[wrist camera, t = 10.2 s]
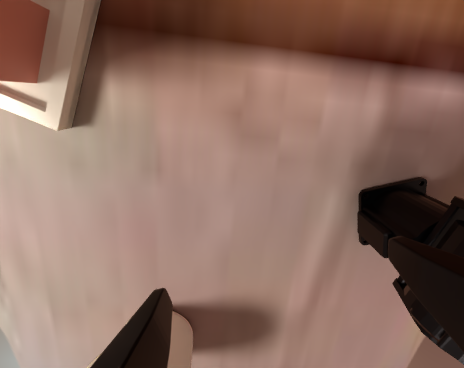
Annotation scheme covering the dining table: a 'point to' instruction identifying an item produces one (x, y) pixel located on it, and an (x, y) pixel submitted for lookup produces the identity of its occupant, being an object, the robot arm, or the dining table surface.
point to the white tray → (56, 66)
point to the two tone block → (21, 39)
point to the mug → (177, 343)
